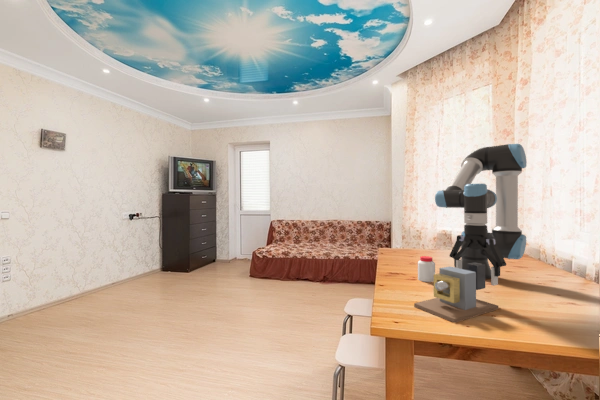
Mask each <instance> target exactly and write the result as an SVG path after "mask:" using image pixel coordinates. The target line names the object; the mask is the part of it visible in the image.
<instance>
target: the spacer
mask: <svg viewBox="0 0 600 400" xmlns="http://www.w3.org/2000/svg"><path fill="white" fill-rule="evenodd" d="M441 281H444V282H448V283H450V294H447V293H444V292H443V290H442V291H438V290H437V289H436V288H435V283H436V282H441ZM433 297H434V298H440V299H443V300H446V301H449V302H452V303H457V302H460V279H459V278H455V277H451V276H447V275H443V274H440V272H439V273H435V274H434V282H433Z"/></svg>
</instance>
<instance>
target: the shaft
mask: <svg viewBox="0 0 600 400" xmlns="http://www.w3.org/2000/svg"><path fill="white" fill-rule="evenodd" d="M467 270H469V271H473V272H476V291H479V290H484V289H486V279H485V264H481V263H476V262H474V263H468V264H467ZM435 288H436V289H437V290H438V291H442V290H447V289H450V283H448V282H444V281H441V282H436V283H435Z"/></svg>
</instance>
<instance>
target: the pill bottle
mask: <svg viewBox="0 0 600 400" xmlns="http://www.w3.org/2000/svg"><path fill="white" fill-rule="evenodd" d="M434 274H436V262H435V261H434V260H433V257H432V256H429V255H428V256H427V255H422V256H420V257H419V260H418V261H417V280H418V281H420V282H424V283H434Z"/></svg>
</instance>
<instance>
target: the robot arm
mask: <svg viewBox="0 0 600 400" xmlns="http://www.w3.org/2000/svg"><path fill="white" fill-rule="evenodd" d="M526 167H527V157H526V152H525V149H524V147H523V145H521V143H508V144H502V145H493V146H492V145H491V146H484V147H481V148H478V149H476V150H474V151H473V152H471V153H469V154H468V155H467V156H466V157H464V159H463V160H462V162H461V165H460V168H459V170H458V172H457V173H456V175H455V176H454V177H453V179H452V180H451V182H450V183H449V184H448V186H447V187H446V189H445V190H444V189H442V190H438V191H436V192H435V196H434V201H435V204H436V206H437V207H439V208H445V209H450V208H452V209H454V208H455V209H460V208H461V209H462V208H463V209H464V210H463V215H464V217H463V219H464V221H463V222H464V225H463V227H464V229H463V231H462V232H461V235H457V236H456V241H455V243H454V245H453V247H452V249H451V251H450V253H449V255H448V256H449V258H452V259H453V261H454V263H453V264H454V266H453V267H455V268H459V269H464V270H467V264H468V263H474V262H476V263H481V264H485V280H487V279H491V281H490V283H491V284H490V285H491V286H497V285H499V277H500V276H501V267H507V262H506V260H505V259H508V260H520V259H522V258H523V256H524V254H525V252H526V251H525V250H526V245H527V235H525V234H523V232H522V229H521V228H519V224H518V223H519V222H518V221H519V220H518V219H519V217H518V216H519V215H518V210H519V209H518V208H519V205H518V204H519V190H518V189H519V175H521V174H522V172H523V169H525V168H526ZM484 171H491V172H492V175H493V176H494V177H495V192H494V191H493V190H490V189H488V185H487V184H486V183H473V181H474V180H475V178H476V176H477V175H478V174H481V172H484ZM493 206H495V226H494V227H493V228H492V229H491V232H489V231H488V226H487V224H488V209H490V208H493ZM489 262H490V264H491V265H492V266H491V265H490V264H489Z"/></svg>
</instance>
